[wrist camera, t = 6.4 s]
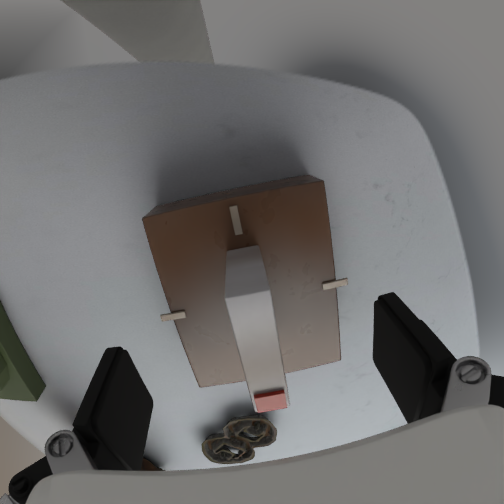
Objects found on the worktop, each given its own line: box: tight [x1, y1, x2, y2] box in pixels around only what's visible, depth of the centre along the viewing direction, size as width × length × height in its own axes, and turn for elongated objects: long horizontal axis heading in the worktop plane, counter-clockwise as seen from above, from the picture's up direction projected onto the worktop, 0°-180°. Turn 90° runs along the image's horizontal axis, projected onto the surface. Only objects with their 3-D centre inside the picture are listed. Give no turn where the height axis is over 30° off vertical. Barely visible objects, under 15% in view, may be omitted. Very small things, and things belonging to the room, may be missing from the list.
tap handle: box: [225, 245, 290, 413], centre depth 14 cm, size 6×2×5 cm, turn 10°
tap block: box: [142, 175, 348, 387], centre depth 18 cm, size 11×10×3 cm
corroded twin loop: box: [202, 415, 277, 464], centre depth 24 cm, size 5×8×1 cm, turn 144°
